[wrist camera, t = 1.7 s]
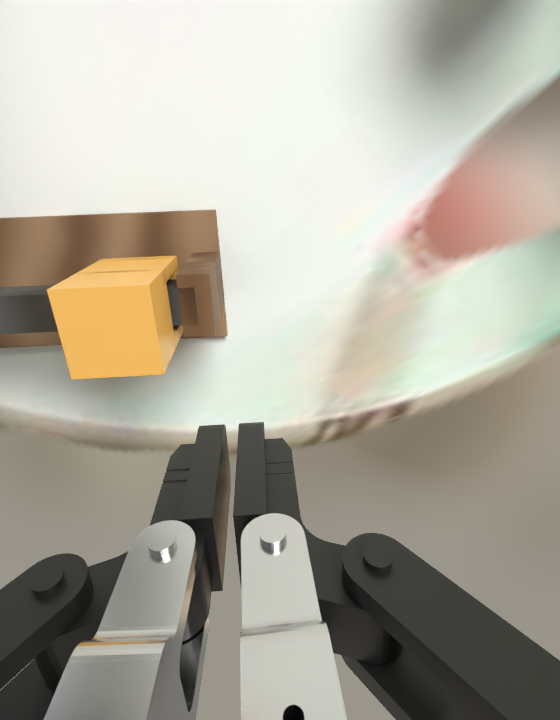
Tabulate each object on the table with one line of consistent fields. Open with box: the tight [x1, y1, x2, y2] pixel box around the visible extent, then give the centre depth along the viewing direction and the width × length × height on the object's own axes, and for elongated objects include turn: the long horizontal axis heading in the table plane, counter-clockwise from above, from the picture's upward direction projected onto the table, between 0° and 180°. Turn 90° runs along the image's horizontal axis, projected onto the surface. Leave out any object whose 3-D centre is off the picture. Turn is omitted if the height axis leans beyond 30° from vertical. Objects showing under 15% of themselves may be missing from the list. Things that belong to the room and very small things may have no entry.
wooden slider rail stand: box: [0, 210, 227, 348], centre depth 28 cm, size 22×10×9 cm, turn 92°
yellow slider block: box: [47, 256, 183, 379], centre depth 25 cm, size 5×5×8 cm
